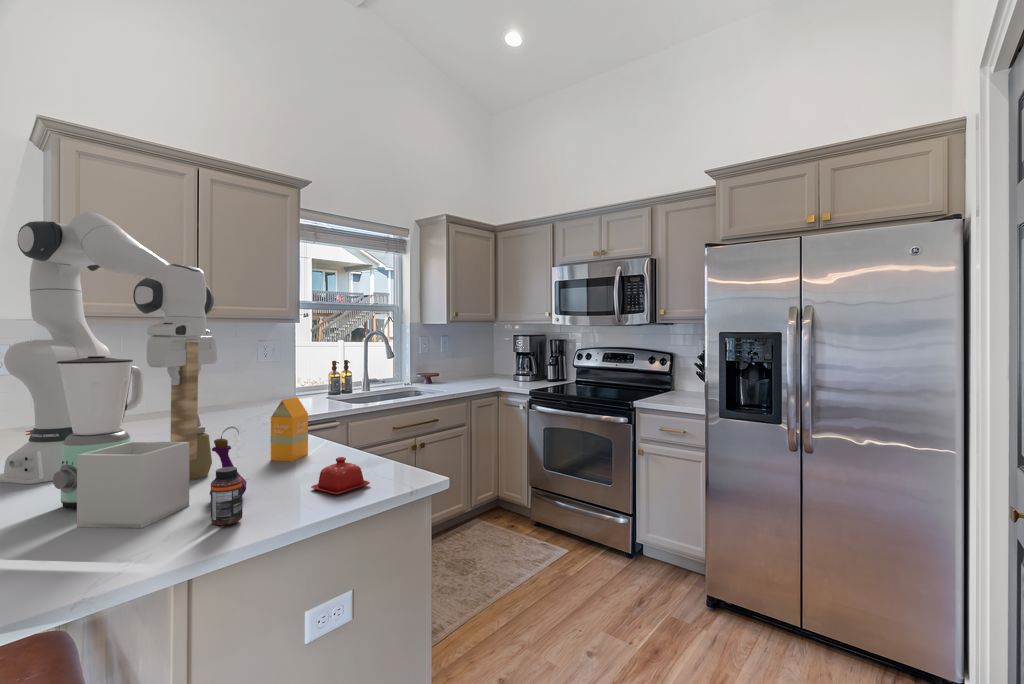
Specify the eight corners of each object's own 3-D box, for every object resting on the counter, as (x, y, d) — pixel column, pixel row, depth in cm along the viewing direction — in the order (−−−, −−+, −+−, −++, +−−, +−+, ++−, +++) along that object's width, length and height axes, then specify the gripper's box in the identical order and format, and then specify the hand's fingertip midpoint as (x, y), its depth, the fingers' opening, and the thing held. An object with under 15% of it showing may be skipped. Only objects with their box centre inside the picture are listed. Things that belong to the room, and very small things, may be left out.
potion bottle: (209, 507, 115) (209, 430, 115) (211, 498, 121) (211, 425, 121) (246, 503, 118) (246, 427, 118) (246, 494, 125) (246, 423, 125)
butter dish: (308, 491, 128) (308, 458, 128) (345, 480, 138) (345, 450, 138) (335, 499, 122) (335, 464, 122) (372, 487, 132) (372, 455, 131)
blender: (81, 516, 109) (81, 357, 109) (35, 511, 112) (35, 357, 112) (160, 491, 127) (160, 355, 127) (119, 487, 130) (119, 354, 130)
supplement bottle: (219, 516, 109) (219, 465, 109) (247, 515, 109) (247, 464, 109) (204, 526, 103) (204, 472, 103) (234, 526, 104) (234, 472, 103)
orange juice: (270, 462, 157) (270, 399, 157) (287, 456, 166) (287, 396, 166) (292, 463, 156) (292, 400, 156) (308, 457, 165) (308, 397, 165)
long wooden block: (170, 461, 123) (171, 340, 122) (181, 457, 127) (183, 340, 126) (185, 461, 122) (187, 340, 122) (196, 458, 126) (198, 340, 126)
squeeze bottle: (218, 474, 143) (218, 412, 143) (198, 482, 135) (198, 416, 135) (192, 473, 144) (192, 411, 144) (171, 481, 136) (171, 416, 136)
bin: (77, 526, 103) (76, 454, 103) (132, 504, 117) (132, 441, 117) (141, 528, 102) (141, 455, 102) (189, 505, 116) (189, 441, 116)
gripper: (201, 329, 135) (200, 380, 135) (141, 327, 114) (140, 387, 114) (223, 329, 134) (223, 380, 135) (167, 328, 114) (166, 388, 114)
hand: (184, 383), depth 124 cm, fingers closed on long wooden block, 4 cm apart
